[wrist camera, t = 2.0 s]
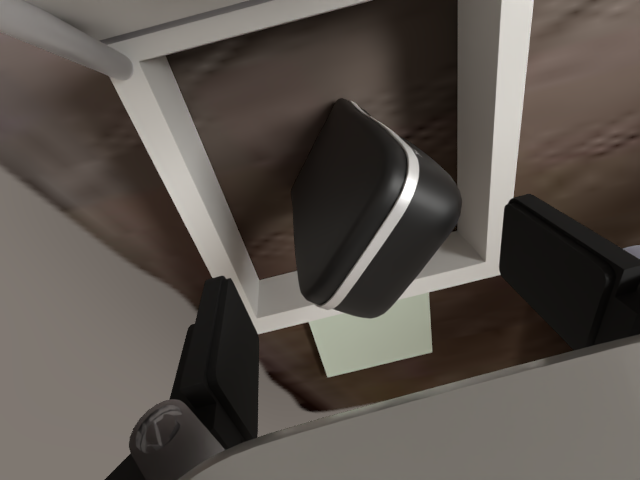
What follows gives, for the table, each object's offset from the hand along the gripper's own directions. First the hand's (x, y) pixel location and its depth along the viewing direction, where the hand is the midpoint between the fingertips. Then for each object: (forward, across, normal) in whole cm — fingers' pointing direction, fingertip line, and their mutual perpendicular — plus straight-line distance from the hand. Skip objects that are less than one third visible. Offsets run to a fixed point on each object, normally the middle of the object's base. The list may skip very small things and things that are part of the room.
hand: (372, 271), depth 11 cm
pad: (+11, -1, +15) cm, 19 cm away
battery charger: (+12, -1, 0) cm, 12 cm away
